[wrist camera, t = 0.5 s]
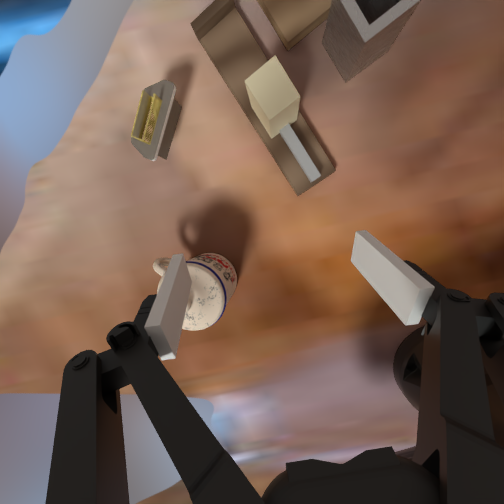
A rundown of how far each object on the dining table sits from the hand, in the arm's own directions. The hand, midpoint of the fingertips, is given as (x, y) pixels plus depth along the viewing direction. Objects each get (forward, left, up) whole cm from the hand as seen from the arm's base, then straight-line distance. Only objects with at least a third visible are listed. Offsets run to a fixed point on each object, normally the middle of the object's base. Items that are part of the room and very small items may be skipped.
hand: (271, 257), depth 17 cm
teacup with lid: (+1, +13, -18) cm, 22 cm away
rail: (+16, -9, -17) cm, 25 cm away
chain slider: (+10, -9, -16) cm, 21 cm away
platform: (+22, +5, -18) cm, 29 cm away
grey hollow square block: (+15, -22, -17) cm, 32 cm away
